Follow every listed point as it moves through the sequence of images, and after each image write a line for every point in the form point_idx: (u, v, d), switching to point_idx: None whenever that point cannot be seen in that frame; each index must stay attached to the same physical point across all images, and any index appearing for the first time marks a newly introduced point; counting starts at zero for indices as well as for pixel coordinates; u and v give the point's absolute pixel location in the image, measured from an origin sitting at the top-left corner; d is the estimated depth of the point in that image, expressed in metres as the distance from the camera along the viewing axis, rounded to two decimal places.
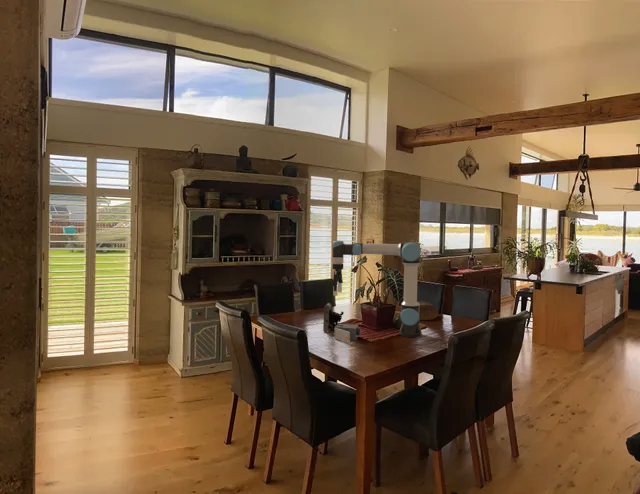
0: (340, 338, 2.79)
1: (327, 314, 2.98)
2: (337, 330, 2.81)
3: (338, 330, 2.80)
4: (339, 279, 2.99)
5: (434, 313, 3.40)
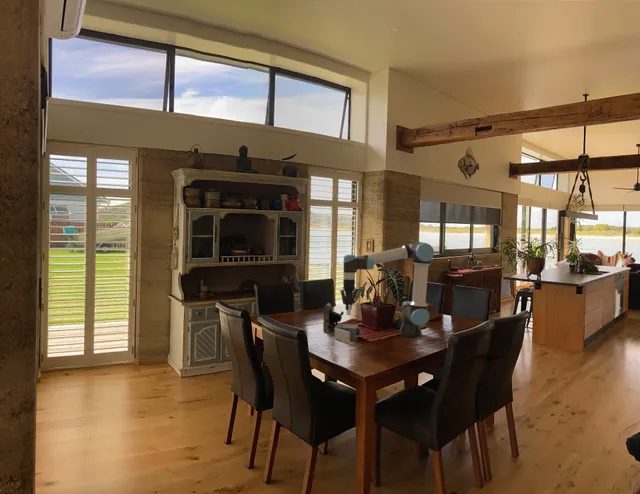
0: (340, 338, 2.79)
1: (327, 314, 2.98)
2: (337, 330, 2.81)
3: (338, 330, 2.80)
4: (349, 298, 2.76)
5: (434, 313, 3.40)
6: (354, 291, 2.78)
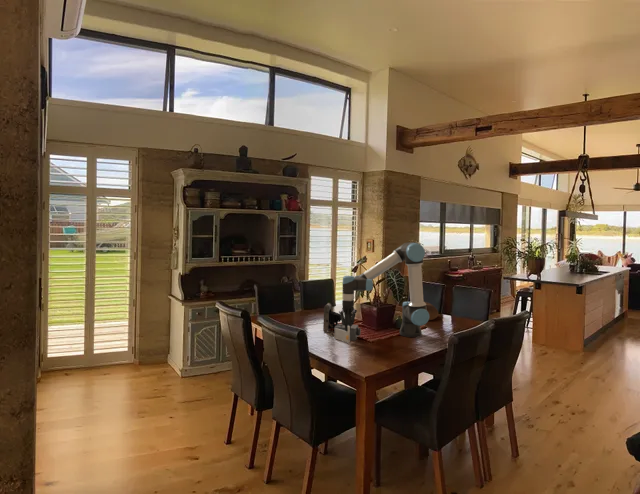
0: (340, 338, 2.79)
1: (327, 314, 2.98)
2: (337, 330, 2.81)
3: (338, 330, 2.80)
4: (348, 319, 2.77)
5: (434, 313, 3.39)
6: (353, 312, 2.79)
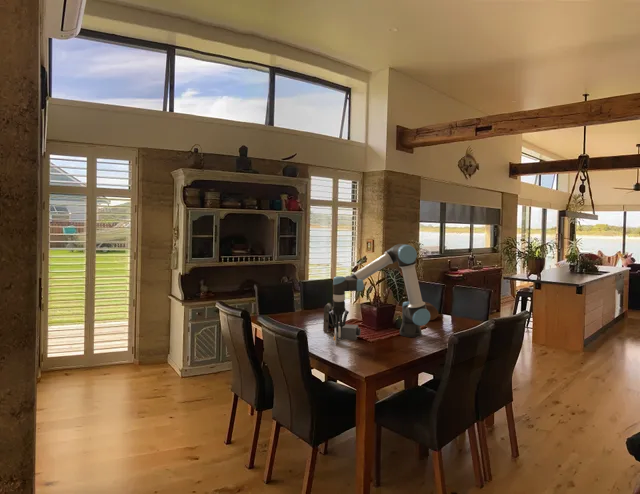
0: None
1: (327, 314, 2.98)
2: None
3: None
4: (339, 320, 2.74)
5: (434, 314, 3.39)
6: None
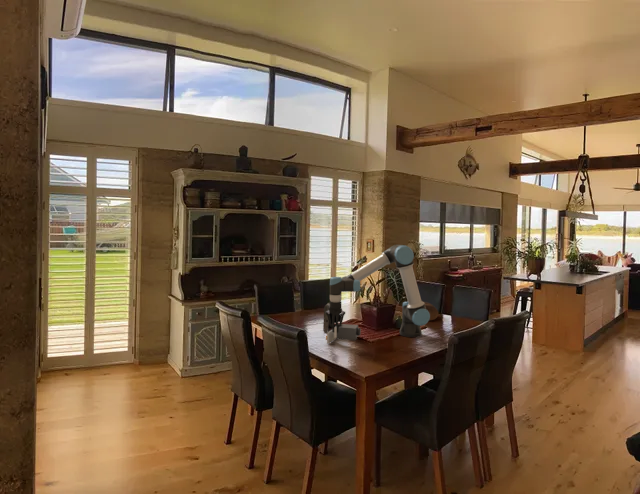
0: None
1: None
2: None
3: None
4: (336, 321, 2.74)
5: (434, 314, 3.38)
6: None
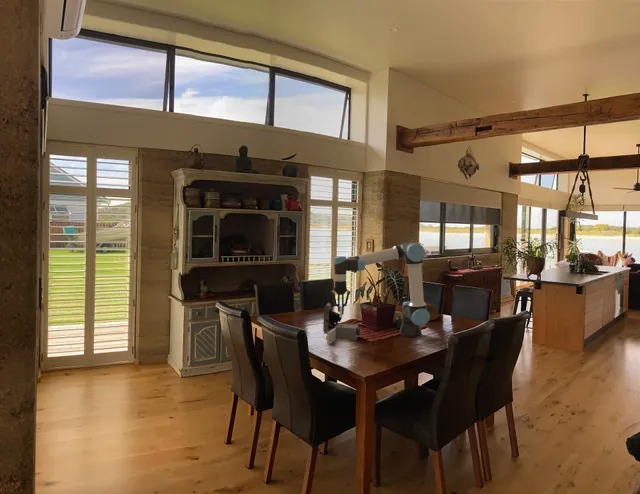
0: None
1: (327, 314, 2.98)
2: None
3: None
4: None
5: (434, 314, 3.38)
6: None
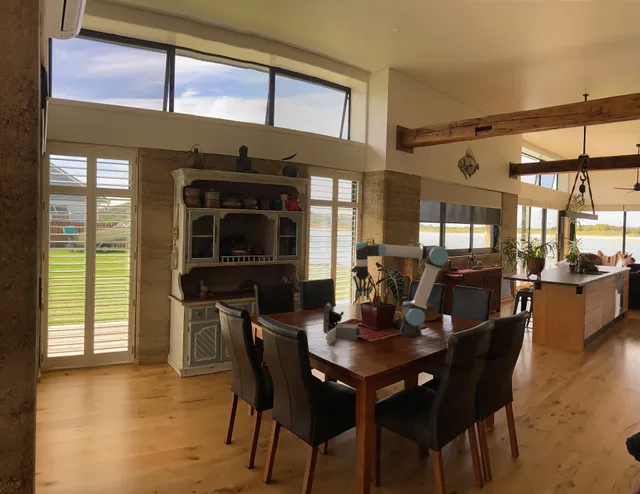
0: None
1: (327, 314, 2.98)
2: None
3: None
4: None
5: (434, 314, 3.37)
6: (369, 278, 2.82)
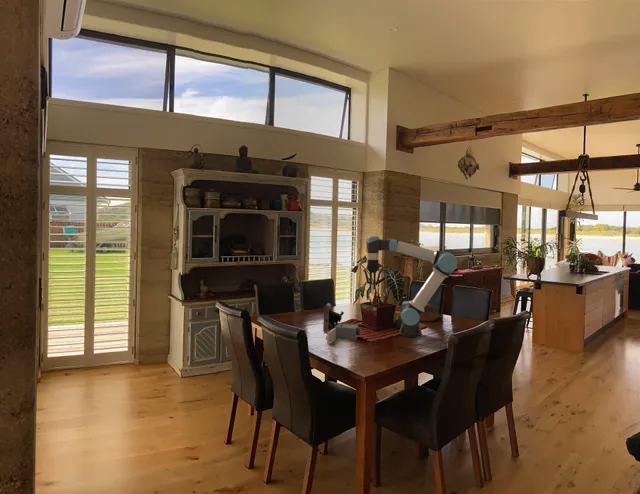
0: None
1: (327, 314, 2.98)
2: None
3: None
4: None
5: (435, 314, 3.37)
6: None
